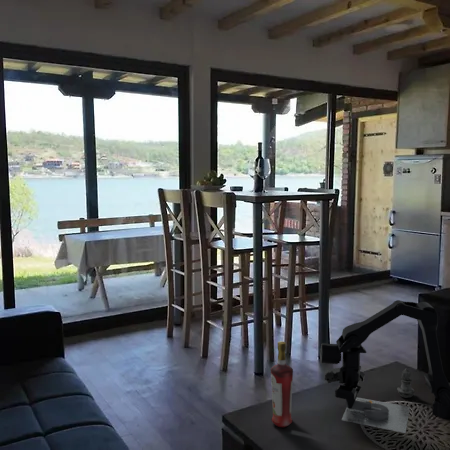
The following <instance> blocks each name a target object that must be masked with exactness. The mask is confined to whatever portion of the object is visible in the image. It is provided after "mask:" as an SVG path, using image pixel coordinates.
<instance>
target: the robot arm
mask: <svg viewBox="0 0 450 450" xmlns="http://www.w3.org/2000/svg"><path fill="white" fill-rule="evenodd" d="M401 316H403V317H404V316H405V317H408V318H411V319H414V320H416V321H417V323H418V325H419V327H420V329H421V332H422V337H423V344H424V349H425V354H426V358H427V359H426V360H427V364H428V373H424V374H423V376H424V379H425V383H424V384H425V387H426V388H427V389H428V391H429V392H430V393H431V394H433V397H434V400H433V401H432V415H434V416H436V417H438V418H441V419H444V420H450V383H449V381H448V378H447V376H446V374H445V372H444V368H443V367H444V366H443V364H442V357H441V352H440V345H439V340H438V335H437V334H438V333H437V330H438V325H439V313H438V311H437V310H436V309H435V308H434V307H433V306H432V305H431V304H430V303H428V302H426V301H420V302H416V301H415V302H414V301H404V300H399V299H397V300H395V301H393V302H392V303H391V304H389V305H388V306H386V307H384V308H383V309H381V310H380V311H377V312H376V313H375V314H373V315H371V316H370V317H368V318H367V319H365V320H362V321H360V322H354V323H351V324H350V325H347V326H345V327H344V328H343V329H342V333H341V335H340V336H339V337H338V338H337V339H336V341H335V343H326V342H322V343H321V346H320V350H319V359H320V364H321V365H322V364H323V365H339V364H340V363H341V362H342V365H341V367H337V368H336V367H335V368H331V369H327V370H326V372H325V373H324V381H326V382H327V384H331V383H335V382H338V383H339V384H340V385H338V386H337V388H336V389H335V391H334V397H335V398H338V399H343V400H345V402H346V401H347V405H348V408H350V409H352V407H353V404H354V402H355V400H356V398H357V397H358V395H359V393H360V391H361V390H362V387H361V386H359V384H360V382H361V383H364V382H365V380H366V374H365V372H363V371H361V370H362V366H361V362H360V361H361V354H366V353H367V350H366V348H365V347H364V346H363V345H362V344H363V343H364V342H366V341H367V339H368V338H369V336H370V335H372V334H373V333H374V332H376V331H377V330H379V329H380V328H383V327H384V326H385V325H388V324H389V323H390V322H392V321H394V320H396V319H398V318H399V317H401Z"/></svg>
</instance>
